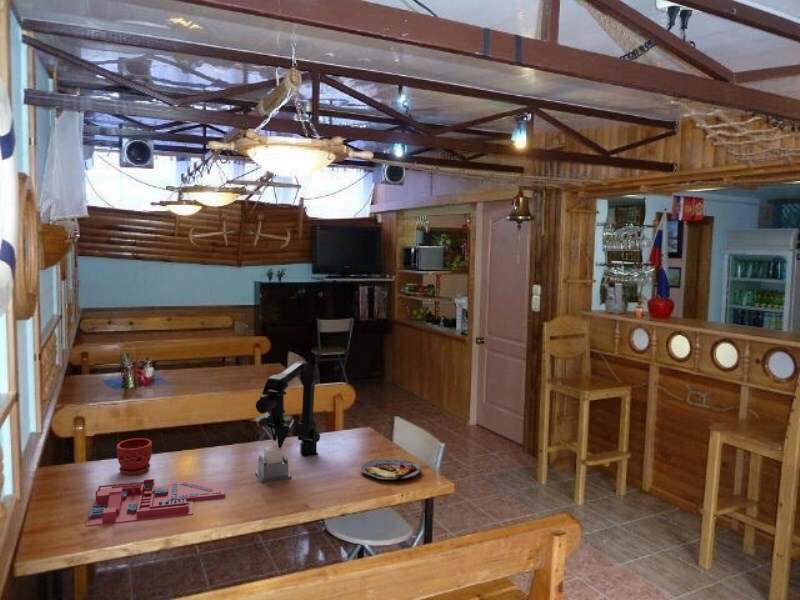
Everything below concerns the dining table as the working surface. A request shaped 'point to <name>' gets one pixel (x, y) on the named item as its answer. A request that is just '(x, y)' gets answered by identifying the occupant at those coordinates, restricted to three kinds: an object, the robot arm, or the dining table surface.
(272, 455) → the plain white cube
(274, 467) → the motor housing
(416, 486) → the dining table surface
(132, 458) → the plant pot
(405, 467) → the food plate
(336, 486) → the dining table surface
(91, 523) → the red architectural model
